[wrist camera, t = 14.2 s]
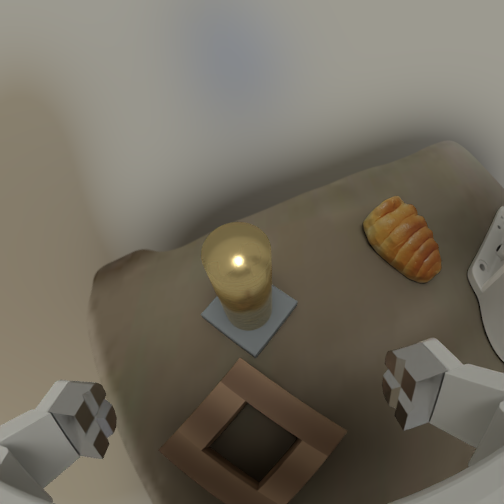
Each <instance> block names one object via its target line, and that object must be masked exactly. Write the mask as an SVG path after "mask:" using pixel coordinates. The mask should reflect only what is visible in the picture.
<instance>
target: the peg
mask: <svg viewBox="0 0 504 504" xmlns="http://www.w3.org/2000/svg"><path fill="white" fill-rule="evenodd" d="M201 259H202V263H203V265H204V268H205V270H206V272H207V274H208V277H209V279H210V281H211V283H212V285H213V288H214V290H215V292H216V294H217V296H218V298H219V300H220V303H221V305H222V307H223V309H224V311H225V313H226V315H227V317H228V319H229V321H230V322H231V324H233V325H234V326H235V327H237V328H239V329H241V330H246V331H251V330H256V329H258V328H260V327H262V326H263V325H265V324H266V323H267V321H268V320H269V318H270V316H271V313H272V270H271V245H270V242H269V239H268V238H267V236H266V235H265V233H264V232H263V231H262V230H260V229H259V228H258V227H256V226H254V225H251V224H248V223H243V222H233V223H228V224H225V225H222V226H220V227H218V228H217V229H215V230H214V231H213V232H211V233H210V234H209V236H208V237H207V238H206V240H205V242H204V244H203V246H202V251H201Z"/></svg>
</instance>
